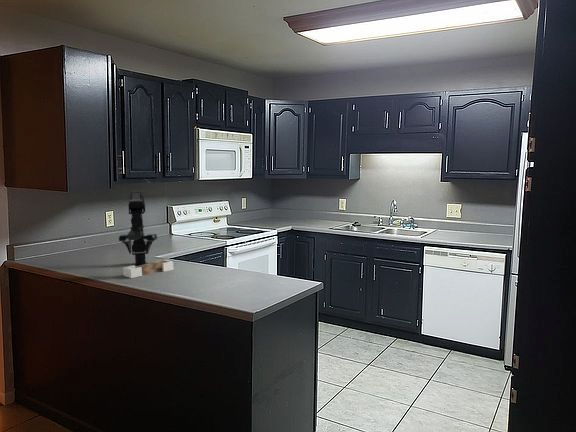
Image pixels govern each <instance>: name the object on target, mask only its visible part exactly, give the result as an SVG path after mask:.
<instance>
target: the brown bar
mask: <svg viewBox="0 0 576 432" xmlns="http://www.w3.org/2000/svg"><path fill="white" fill-rule="evenodd" d="M161 260H162V259H161ZM161 260H157V262H156V261H154V262H149V263H148V262H147V263H148V264H144V265H139V266H138V267H142V276H146V275H150V274H154V273H158V272H164V271H163V270H162V263H165V262H167V261H164V260H165V259H163V260H162V261H161Z"/></svg>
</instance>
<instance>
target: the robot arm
mask: <svg viewBox="0 0 576 432" xmlns="http://www.w3.org/2000/svg"><path fill="white" fill-rule="evenodd" d="M127 206H128V215H130V216H131V217H130V223H131V227H130V231H129V232H128V233H127V234H125V233H123V234H121V235H119V236H118V242H121V243H123V244H124V246H126V248H127V249H126V250H127V251H128V253H129V255H130V254H131V255H132V256H134V263H132V265H135V266H137V267H139V266H140V265H144V264H148V262H146V255H148V254H149V252H150V251H151V250H150V249H151V246H152V244H153V243H154V242H155V241H156V240H158V235H157V234H156V233H147V235H145V232H144V229H145V225H144V219H143V215H144V214H145V213H146V204H145V195H143V194H142V192H141V191H132V192H131V193H130V195H129V196H128V205H127Z"/></svg>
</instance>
